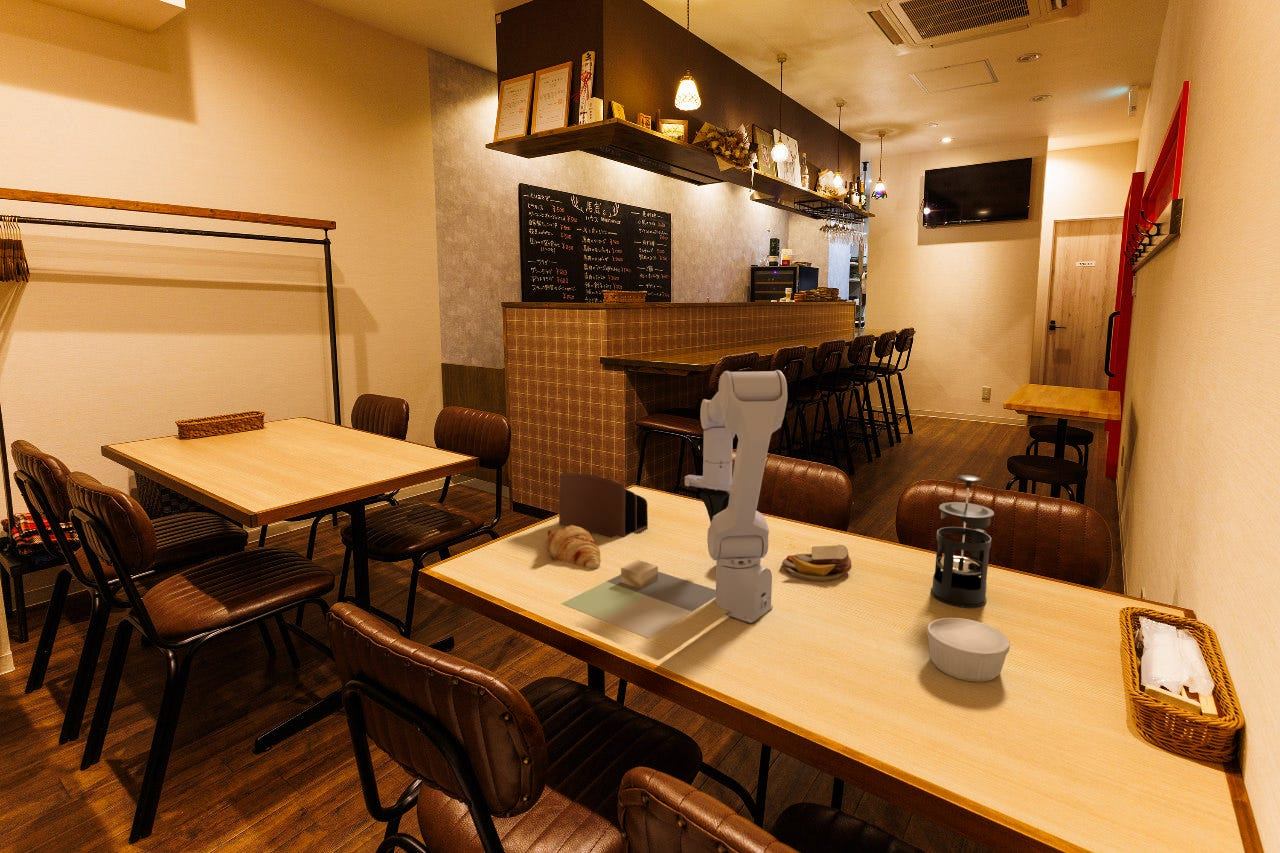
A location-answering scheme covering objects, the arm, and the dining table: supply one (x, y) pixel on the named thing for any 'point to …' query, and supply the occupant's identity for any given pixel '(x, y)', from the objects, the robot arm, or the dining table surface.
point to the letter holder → (600, 506)
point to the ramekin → (967, 648)
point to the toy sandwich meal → (819, 563)
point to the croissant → (574, 546)
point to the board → (642, 603)
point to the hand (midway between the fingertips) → (716, 525)
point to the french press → (962, 568)
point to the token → (639, 574)
